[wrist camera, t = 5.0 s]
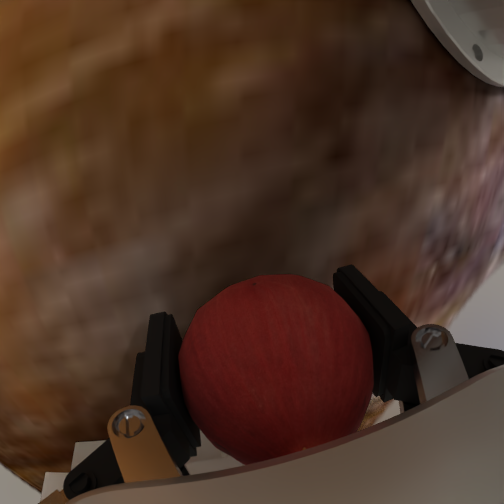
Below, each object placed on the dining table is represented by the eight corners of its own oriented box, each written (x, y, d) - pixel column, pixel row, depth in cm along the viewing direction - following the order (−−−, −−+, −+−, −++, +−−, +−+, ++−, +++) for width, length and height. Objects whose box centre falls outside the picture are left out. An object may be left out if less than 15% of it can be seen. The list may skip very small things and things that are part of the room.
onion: (310, 354, 14) (382, 502, 7) (183, 363, 13) (196, 539, 6) (332, 236, 12) (475, 378, 5) (176, 236, 11) (169, 440, 4)
